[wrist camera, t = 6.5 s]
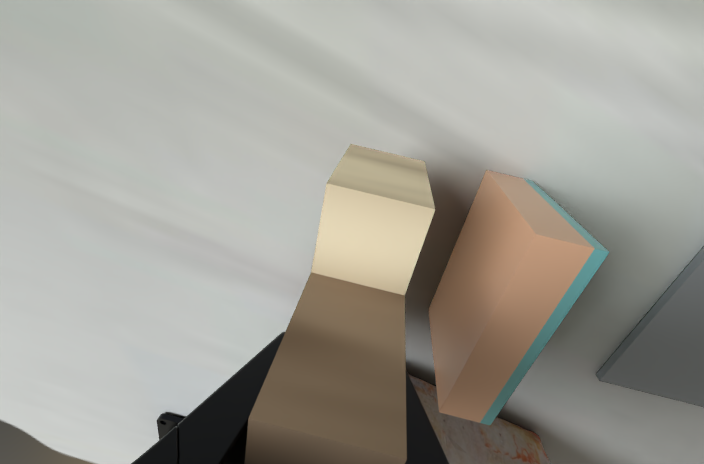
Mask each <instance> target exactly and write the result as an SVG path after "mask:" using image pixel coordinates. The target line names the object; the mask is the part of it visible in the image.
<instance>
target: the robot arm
mask: <svg viewBox="0 0 704 464" xmlns="http://www.w3.org/2000/svg"><path fill="white" fill-rule="evenodd" d="M284 334H285V332H282V333H281V334H280V335H279V336H277V337H276V338H275V339H274V340H273V341H272V342H271V343H270V344H268V345H267V346H266V347H265V348H264V349H263V350H262V351H260V352H259V353H258V354H257V355H256V356H255V357H254V358H252V359H251V360H250V361H249V362H248V363H247V364H246V365H245V366H243V367H242V368H241V369H240V370H239V371H238V372H237V373H235V374H234V375H233V376H232V377H231V378H230V379H229V380H228V381H226V382H225V383H224V384H223V385H222V386H221V387H220V388H218V389H217V390H216V391H215V392H214V393H213V394H212V395H210V396H209V397H208V398H207V399H206V400H205V401H204V402H203V403H201V404H200V405H199V406H198V407H197V408H196V409H195V410H193V411H192V412H191V413H190V414H189V415H188V416H187V417H186V418H184V419H183V418H180V417H176V416H172V415H168V414H161V415H160V416H159V418H158V419H157V425H158V433H159V441H158V442H157V443H156V444H154V445H153V446H152V447H151V448H150V449H149V450H147V451H146V452H145V453H144V454H143V455H141V456H140V457H139V458H138V459H137V460H135V461H134V462H133V463H131V464H245V454H246V442H247V431H248V419H249V416H250V414H251V411H252V409H253V407H254V404H255V402H256V400H257V397H258V395H259V393H260V390H261V388H262V386H263V383H264V381H265V379H266V376H267V374H268V372H269V369H270V367H271V365H272V362H273V360H274V358H275V355H276V353H277V351H278V348H279V346H280V344H281V341H282V339H283V337H284ZM406 433H407V460H406V462H405V464H449V462H448V460H447V457H446V455H445V453H444V451H443V449H442V446H441V444H440V442H439V440H438V438H437V435H436V433H435V431H434V429H433V427H432V424H431V422H430V420H429V418H428V416H427V414H426V411H425V409H424V407H423V405H422V403H421V400H420V398H419V396H418V394H417V392H416V389H415V387H414V385H413V383H412V381H411V379H410V376H409V374H408V372H407V370H406Z"/></svg>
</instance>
